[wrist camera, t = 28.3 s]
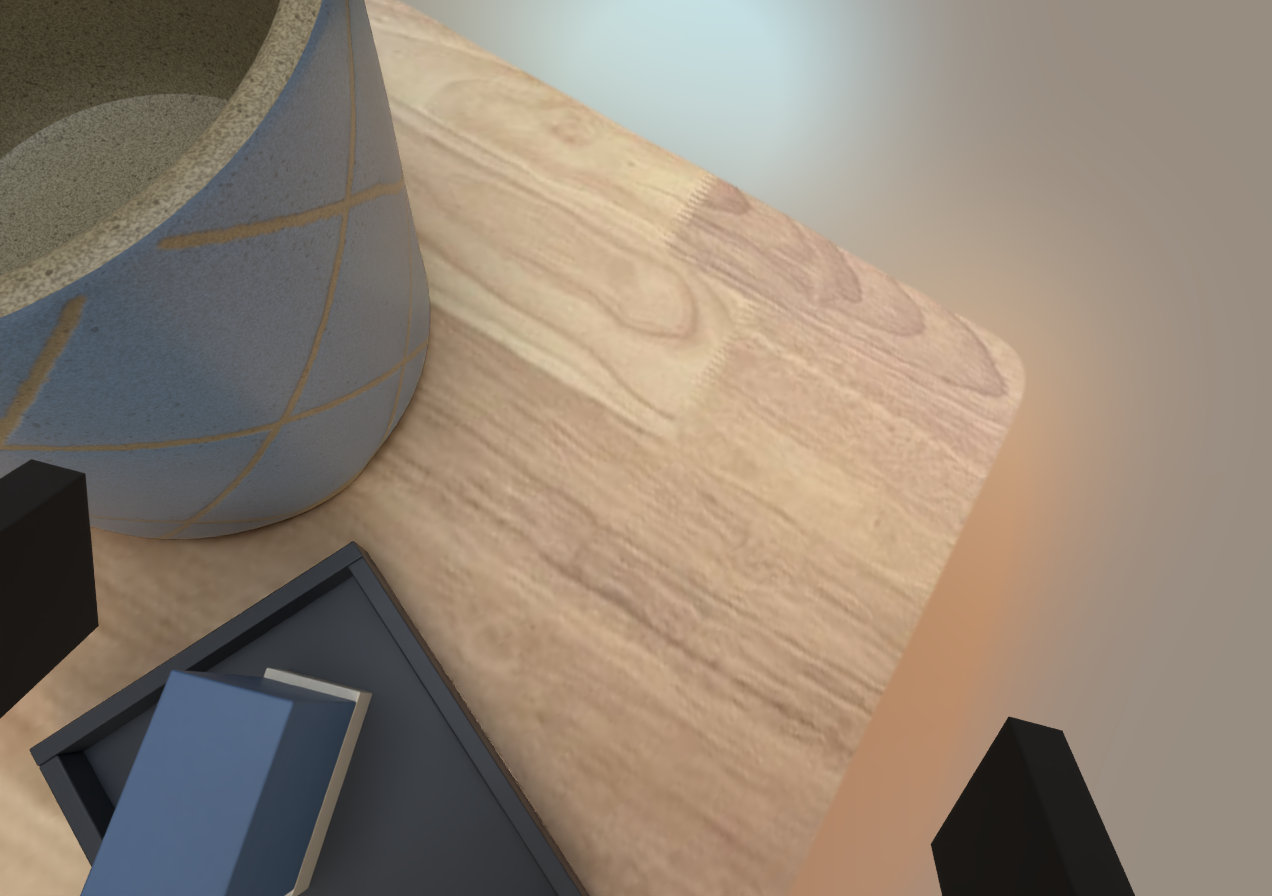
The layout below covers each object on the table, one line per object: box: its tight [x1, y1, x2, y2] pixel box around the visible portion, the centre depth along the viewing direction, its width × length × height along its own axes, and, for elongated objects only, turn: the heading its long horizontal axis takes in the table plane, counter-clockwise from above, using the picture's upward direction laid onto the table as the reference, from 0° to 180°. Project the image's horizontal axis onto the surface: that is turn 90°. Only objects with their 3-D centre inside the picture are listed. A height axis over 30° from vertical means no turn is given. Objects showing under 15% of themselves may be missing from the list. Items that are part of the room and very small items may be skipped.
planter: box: [0, 0, 430, 539], centre depth 31 cm, size 23×23×24 cm
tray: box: [30, 541, 589, 896], centre depth 35 cm, size 20×15×3 cm
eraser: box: [80, 668, 372, 896], centre depth 31 cm, size 8×4×11 cm, turn 166°
